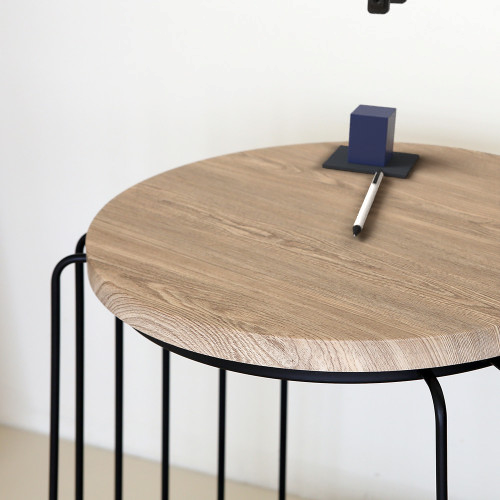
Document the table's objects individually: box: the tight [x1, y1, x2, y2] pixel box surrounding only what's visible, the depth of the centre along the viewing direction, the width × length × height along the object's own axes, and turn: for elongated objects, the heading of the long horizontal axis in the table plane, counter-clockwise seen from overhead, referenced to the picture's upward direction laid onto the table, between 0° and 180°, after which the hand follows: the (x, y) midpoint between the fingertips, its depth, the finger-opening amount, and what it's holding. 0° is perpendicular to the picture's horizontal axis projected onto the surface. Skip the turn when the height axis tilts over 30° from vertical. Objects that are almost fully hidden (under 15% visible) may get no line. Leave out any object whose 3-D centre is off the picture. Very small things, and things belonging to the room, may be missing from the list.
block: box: [347, 104, 397, 167], centre depth 95 cm, size 4×4×6 cm
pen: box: [352, 169, 384, 237], centre depth 84 cm, size 1×19×1 cm, turn 164°
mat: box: [321, 144, 420, 179], centre depth 97 cm, size 10×8×1 cm
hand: (387, 8), depth 86 cm, fingers open, 8 cm apart
